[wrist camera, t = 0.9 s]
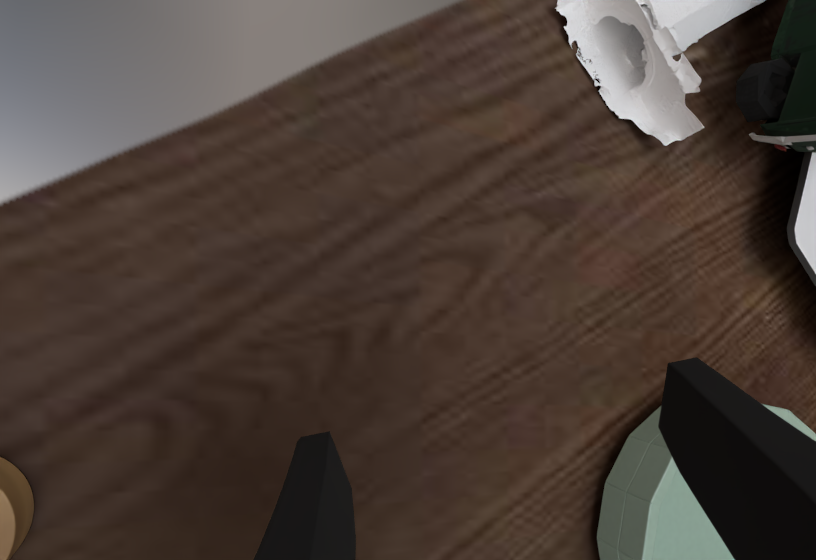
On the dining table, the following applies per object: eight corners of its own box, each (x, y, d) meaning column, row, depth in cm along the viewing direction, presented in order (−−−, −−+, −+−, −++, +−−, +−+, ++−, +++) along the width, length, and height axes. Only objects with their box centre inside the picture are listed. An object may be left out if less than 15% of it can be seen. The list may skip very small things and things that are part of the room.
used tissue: (532, -28, 27) (582, -80, 24) (766, -89, 33) (836, -139, 29) (605, 171, 28) (664, 151, 25) (820, 78, 34) (894, 51, 30)
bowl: (720, 688, 29) (784, 736, 26) (547, 578, 26) (596, 617, 23) (809, 469, 33) (877, 487, 29) (665, 346, 29) (722, 351, 26)
